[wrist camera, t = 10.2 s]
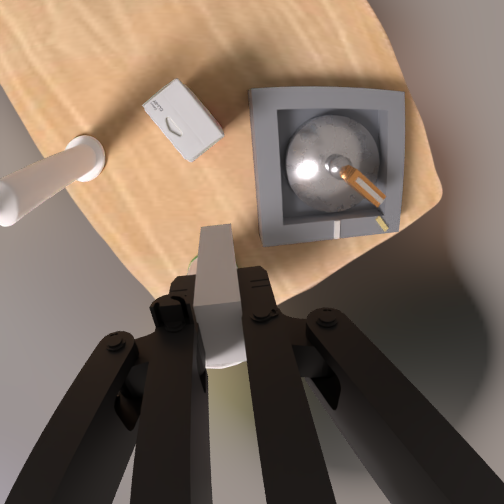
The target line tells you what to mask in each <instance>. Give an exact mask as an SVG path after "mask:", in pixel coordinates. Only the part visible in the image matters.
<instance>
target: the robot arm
mask: <svg viewBox="0 0 504 504" xmlns="http://www.w3.org/2000/svg"><path fill="white" fill-rule="evenodd" d="M150 311H151V314H152V317H153V320H154V323H155V326H156V329H155V332H153V333H152V334H149V335H147V336H144V337H141V338H138V339H134V337H133V336H132V335H131V334H130V333H128V332H125V331H117V332H114V333H110V334H109V335H107V336H105V337H104V338H103V339H102V340H101V341H100V342H99V344H98V345H97V347H96V348H95V350H94V351H93V353H92V354H91V356H90V357H89V359H88V360H87V362H86V363H85V365H84V366H83V368H82V369H81V371H80V372H79V374H78V375H77V377H76V379H75V380H74V382H73V383H72V385H71V386H70V388H69V389H68V391H67V393H66V394H65V396H64V398H63V399H62V401H61V402H60V404H59V405H58V407H57V409H56V410H55V412H54V414H53V415H52V417H51V419H50V420H49V422H48V424H47V425H46V427H45V429H44V431H43V432H42V434H41V436H40V438H39V439H38V441H37V443H36V444H35V446H34V448H33V450H32V452H31V453H30V455H29V457H28V459H27V461H26V463H25V464H24V467H23V468H22V470H21V472H20V474H19V476H18V478H17V480H16V482H15V483H14V485H13V487H12V489H11V491H10V493H9V496H8V497H7V500H6V502H5V504H112V502H113V499H114V497H115V494H116V492H117V489H118V487H119V484H120V482H121V479H122V477H123V474H124V472H125V469H126V467H127V464H128V462H129V459H130V456H131V454H132V452H133V449H134V447H135V445H136V449H135V458H134V467H133V476H132V486H131V498H130V504H213V503H212V487H211V466H210V441H209V410H208V409H209V408H208V374H207V371H206V362H207V365H215V364H225V363H234V362H242V361H247V366H248V374H249V381H250V389H251V396H252V403H253V411H254V418H255V426H256V433H257V440H258V447H259V454H260V461H261V468H262V475H263V482H264V488H265V494H266V502H267V504H336V500H335V497H334V493H333V489H332V486H331V482H330V479H329V475H328V471H327V468H326V464H325V461H324V457H323V454H322V450H321V446H320V443H319V439H318V436H317V432H316V429H315V425H314V422H313V418H312V415H311V411H310V408H309V404H308V401H307V397H306V394H305V390H304V387H303V383H302V380H301V377H305V380H306V382H307V383H308V385H309V386H310V388H311V389H312V391H313V392H314V394H315V395H316V397H317V398H318V400H319V401H320V403H321V404H322V405H323V407H324V408H325V410H326V411H327V413H328V414H329V416H330V417H331V419H332V420H333V422H334V423H335V425H336V426H337V428H338V429H339V430H340V432H341V433H342V435H343V436H344V438H345V439H346V441H347V442H348V444H349V445H350V446H351V448H352V449H353V451H354V452H355V454H356V455H357V456H358V458H359V459H360V461H361V462H362V463H363V465H364V466H365V468H366V469H367V471H368V472H369V473H370V475H371V476H372V478H373V479H374V480H375V482H376V483H377V485H378V486H379V488H380V489H381V490H382V492H383V493H384V495H385V496H386V497H387V499H388V500H389V501H390V503H391V504H504V483H503V482H502V480H501V479H500V478H499V477H498V476H497V475H496V474H495V472H494V471H493V470H492V469H491V468H490V467H489V466H488V465H487V464H486V462H485V461H484V460H483V459H482V458H481V457H480V456H479V455H478V454H477V453H476V452H475V450H474V449H473V448H472V447H471V446H470V445H469V444H468V443H467V442H466V441H465V440H464V438H463V437H462V436H461V435H460V434H459V433H458V432H457V431H456V430H455V429H454V428H453V427H452V426H451V424H450V423H449V422H448V421H447V420H446V419H445V418H444V417H443V416H442V415H441V414H440V413H439V412H438V411H437V409H436V408H435V407H434V406H433V405H432V404H431V403H430V402H429V401H428V400H427V399H426V398H425V397H424V396H423V395H422V393H421V392H420V391H419V390H418V389H417V388H416V387H415V386H414V385H413V384H412V383H411V382H410V381H409V380H408V379H407V378H406V377H405V376H404V375H403V374H402V373H401V371H400V370H399V369H398V368H397V367H396V366H395V365H394V364H393V363H392V362H391V361H390V360H389V359H388V358H387V357H386V356H385V355H384V354H383V353H382V352H381V351H380V350H379V349H378V348H377V347H376V346H375V345H374V344H373V343H372V342H371V341H370V340H369V338H368V337H367V336H366V335H364V333H363V332H362V331H360V329H359V328H358V327H357V326H356V325H355V324H354V323H353V322H352V321H351V320H350V319H349V318H348V317H347V316H346V315H345V314H344V313H342V312H341V311H339V310H337V309H333V308H319V309H316V310H314V311H312V312H310V314H309V315H308V316H307V319H299V318H292V317H289V316H286V315H284V314H282V312H281V311H280V309H279V308H277V305H276V302H275V298H274V295H273V291H272V288H271V284H270V281H269V277H268V274H267V271H266V270H264V269H263V268H262V267H261V266H255V267H247V268H239V269H237V268H236V260H235V252H234V244H233V236H232V228H231V224H223V225H214V226H206V227H201V232H200V241H199V250H198V260H197V270H196V274H194V275H186V276H177V277H176V278H175V280H174V281H173V282H172V283H171V286H170V292H169V294H168V295H164V296H162V297H159V298H157V299H156V300H155V301H154V302H152V304H151V306H150Z"/></svg>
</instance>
